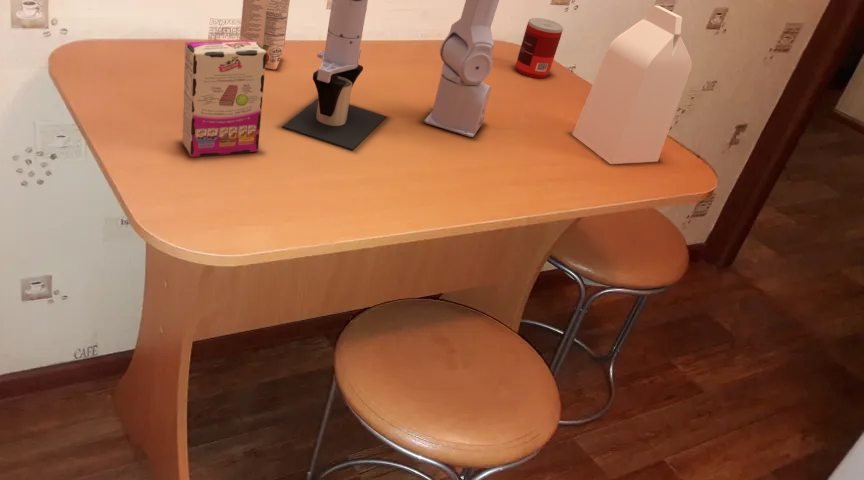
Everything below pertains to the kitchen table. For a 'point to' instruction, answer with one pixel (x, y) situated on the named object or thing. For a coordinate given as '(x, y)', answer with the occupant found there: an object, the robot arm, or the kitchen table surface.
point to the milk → (636, 91)
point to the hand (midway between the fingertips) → (332, 109)
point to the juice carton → (266, 27)
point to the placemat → (343, 135)
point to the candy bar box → (222, 97)
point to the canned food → (538, 47)
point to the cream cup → (338, 107)
